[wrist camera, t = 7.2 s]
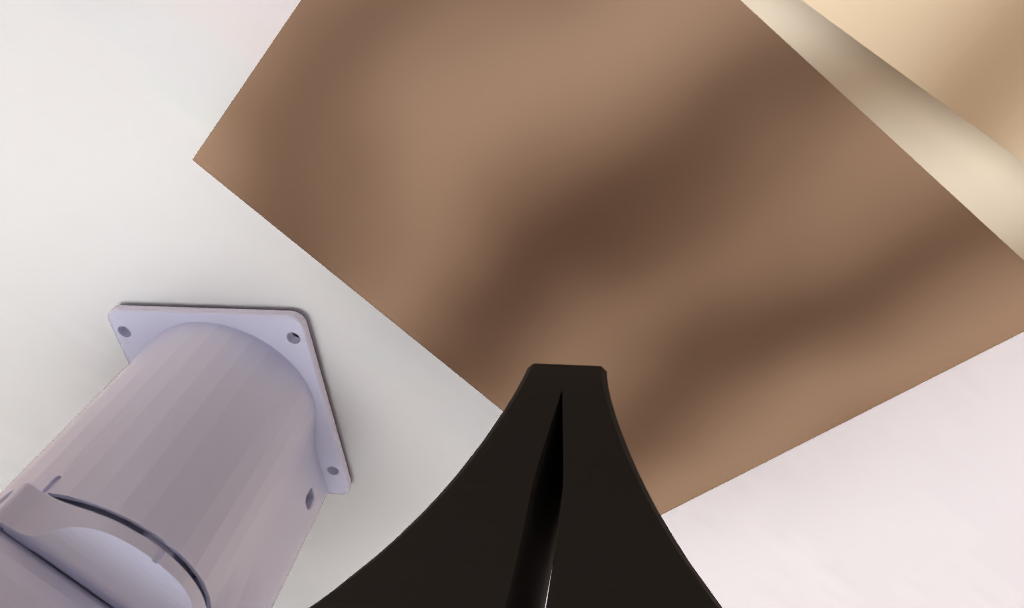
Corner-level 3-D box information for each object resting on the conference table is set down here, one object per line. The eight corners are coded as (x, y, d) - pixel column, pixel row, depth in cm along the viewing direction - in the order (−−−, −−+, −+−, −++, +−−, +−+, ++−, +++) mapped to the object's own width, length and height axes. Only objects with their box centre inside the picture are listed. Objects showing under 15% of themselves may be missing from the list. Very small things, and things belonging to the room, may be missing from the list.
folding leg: (627, -118, 14) (625, -110, 11) (701, -244, 13) (719, -271, 10) (1093, 222, 17) (1185, 296, 14) (1194, 144, 15) (1319, 208, 13)
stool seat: (1236, 160, 18) (1302, 194, 16) (642, 483, 27) (643, 526, 26) (766, -634, 12) (789, -719, 10) (226, 136, 22) (190, 161, 20)
